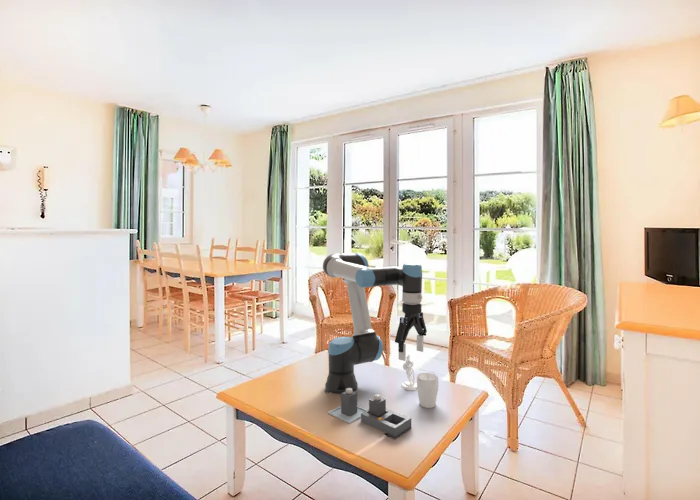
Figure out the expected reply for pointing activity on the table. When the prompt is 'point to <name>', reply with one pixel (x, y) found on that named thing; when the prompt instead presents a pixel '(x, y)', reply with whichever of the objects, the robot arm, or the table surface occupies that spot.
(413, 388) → the figurine
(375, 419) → the gray block holder
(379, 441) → the table surface
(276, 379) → the table surface
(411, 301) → the robot arm
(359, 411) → the tray
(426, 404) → the cup
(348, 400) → the plug
